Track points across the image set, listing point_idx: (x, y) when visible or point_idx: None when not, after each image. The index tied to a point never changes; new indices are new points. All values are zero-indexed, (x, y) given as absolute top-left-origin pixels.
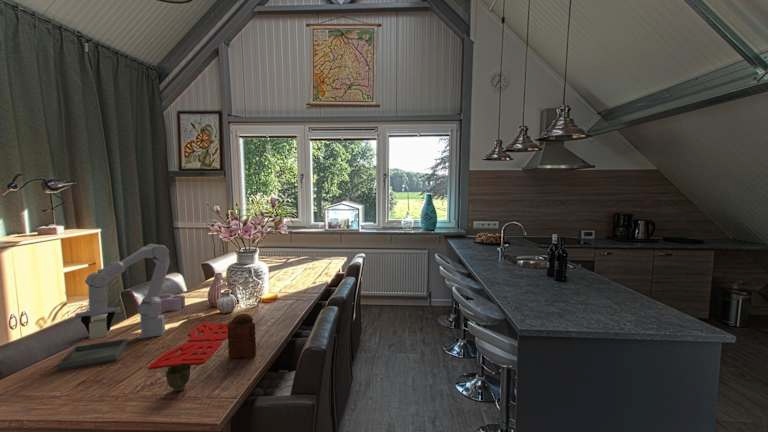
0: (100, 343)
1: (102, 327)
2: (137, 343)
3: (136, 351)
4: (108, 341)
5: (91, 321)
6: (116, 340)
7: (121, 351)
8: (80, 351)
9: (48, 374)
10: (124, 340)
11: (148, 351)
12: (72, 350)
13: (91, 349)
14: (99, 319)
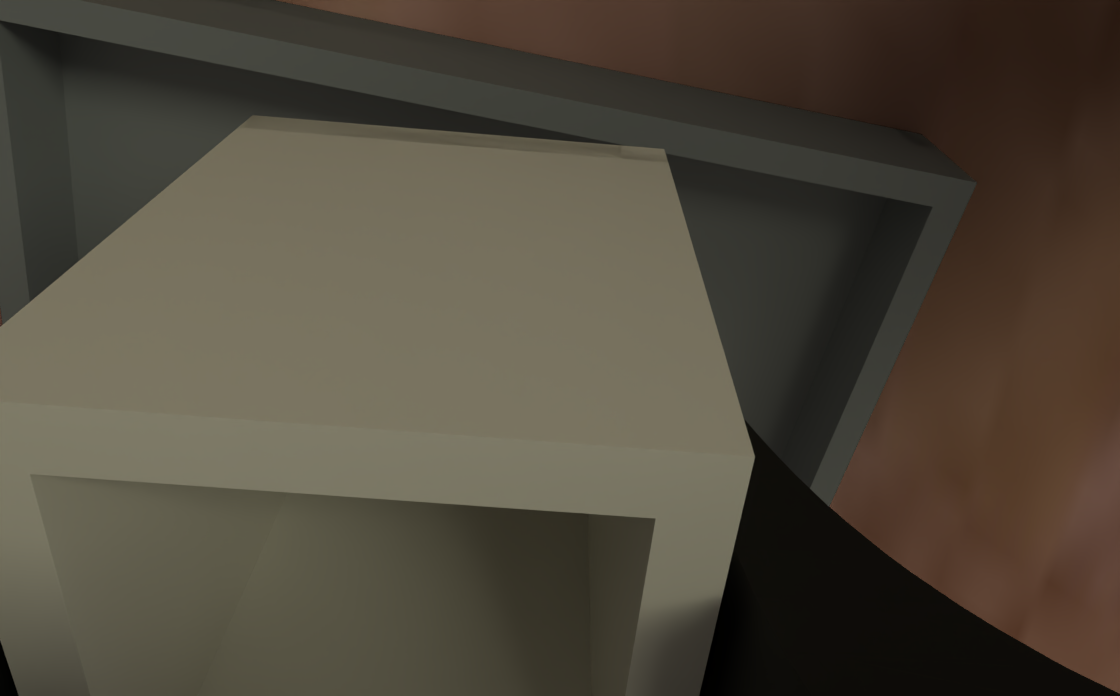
0: (469, 107)
1: (527, 686)
2: (1083, 166)
3: (970, 502)
4: (620, 118)
5: (47, 670)
6: (772, 164)
7: None
8: (145, 76)
9: None
10: (908, 272)
11: (1092, 587)
12: (21, 228)
13: (327, 89)
14: (321, 464)
